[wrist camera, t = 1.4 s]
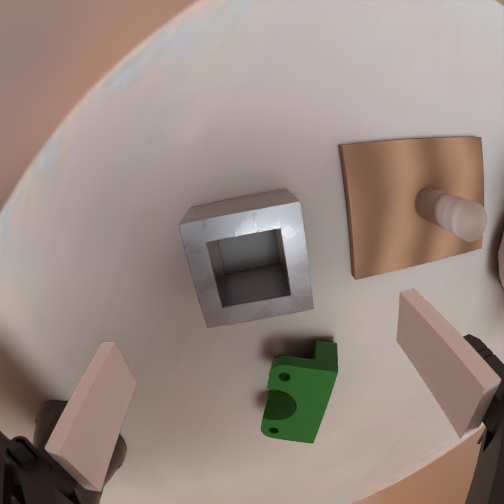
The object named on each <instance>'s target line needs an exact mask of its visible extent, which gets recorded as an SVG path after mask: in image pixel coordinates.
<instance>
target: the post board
mask: <svg viewBox="0 0 504 504" xmlns="http://www.w3.org/2000/svg"><path fill="white" fill-rule="evenodd" d="M339 152H340V158H341V166H342V173H343V181H344V189H345V197H346V207H347V216H348V227H349V238H350V251H351V266H352V276H353V277H354V278H355V280H356V279H360V278H365V277H369V276H374V275H378V274H383V273H387V272H391V271H395V270H400V269H404V268H408V267H412V266H416V265H420V264H424V263H428V262H432V261H436V260H440V259H444V258H448V257H451V256H455V255H459V254H463V253H466V252H470V251H474V250H477V249H481V248H482V240H483V233H484V230H485V228H486V223H487V215H486V211H485V209H484V171H483V153H482V141H481V137H439V138H417V139H400V140H387V141H375V142H364V143H354V144H345V145H339Z"/></svg>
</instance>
